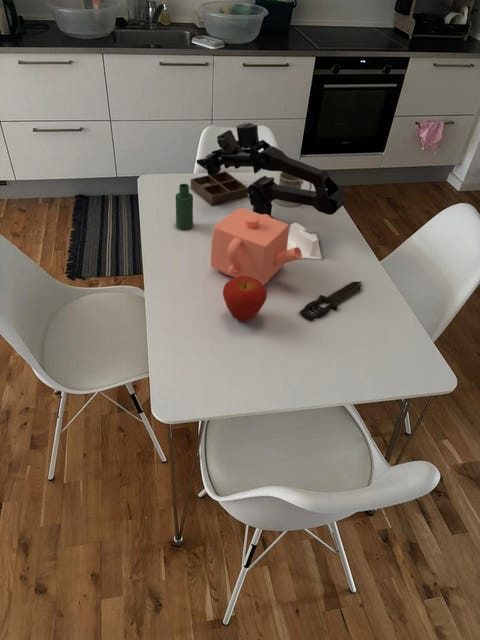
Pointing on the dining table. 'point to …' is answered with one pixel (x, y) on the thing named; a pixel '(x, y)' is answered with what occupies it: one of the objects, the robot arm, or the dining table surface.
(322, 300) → the knife
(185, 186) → the bottle
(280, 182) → the mug
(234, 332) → the dining table surface
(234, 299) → the apple
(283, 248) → the teapot
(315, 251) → the napkin holder
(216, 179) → the tray
